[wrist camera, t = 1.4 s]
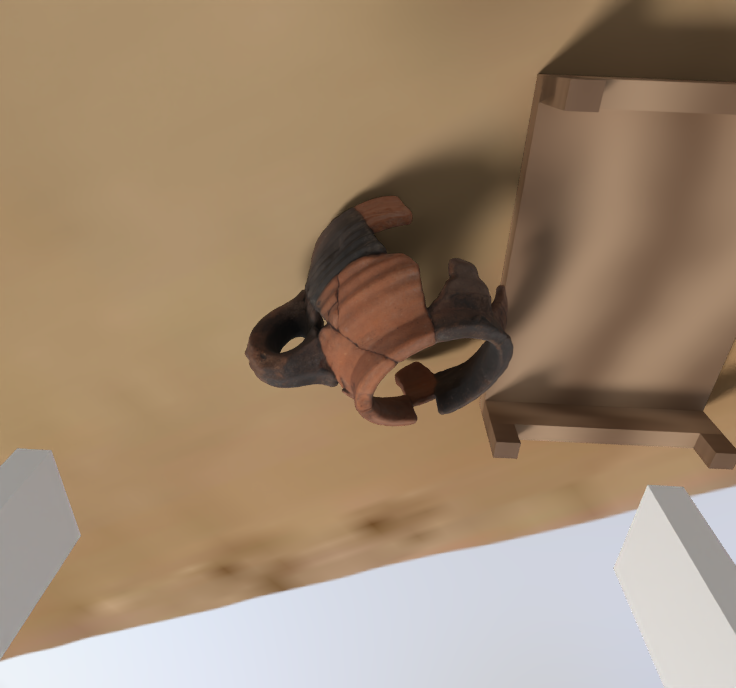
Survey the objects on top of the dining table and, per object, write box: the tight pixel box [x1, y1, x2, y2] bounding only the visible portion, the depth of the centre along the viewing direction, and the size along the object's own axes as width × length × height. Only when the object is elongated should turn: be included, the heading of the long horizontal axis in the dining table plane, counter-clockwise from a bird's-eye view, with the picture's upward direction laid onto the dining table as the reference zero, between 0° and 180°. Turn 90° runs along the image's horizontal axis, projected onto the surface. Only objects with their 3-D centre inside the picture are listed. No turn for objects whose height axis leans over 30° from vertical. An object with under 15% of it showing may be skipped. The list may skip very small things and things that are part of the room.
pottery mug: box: [245, 196, 514, 426], centre depth 25 cm, size 12×9×8 cm
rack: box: [480, 74, 736, 469], centre depth 24 cm, size 12×17×4 cm
